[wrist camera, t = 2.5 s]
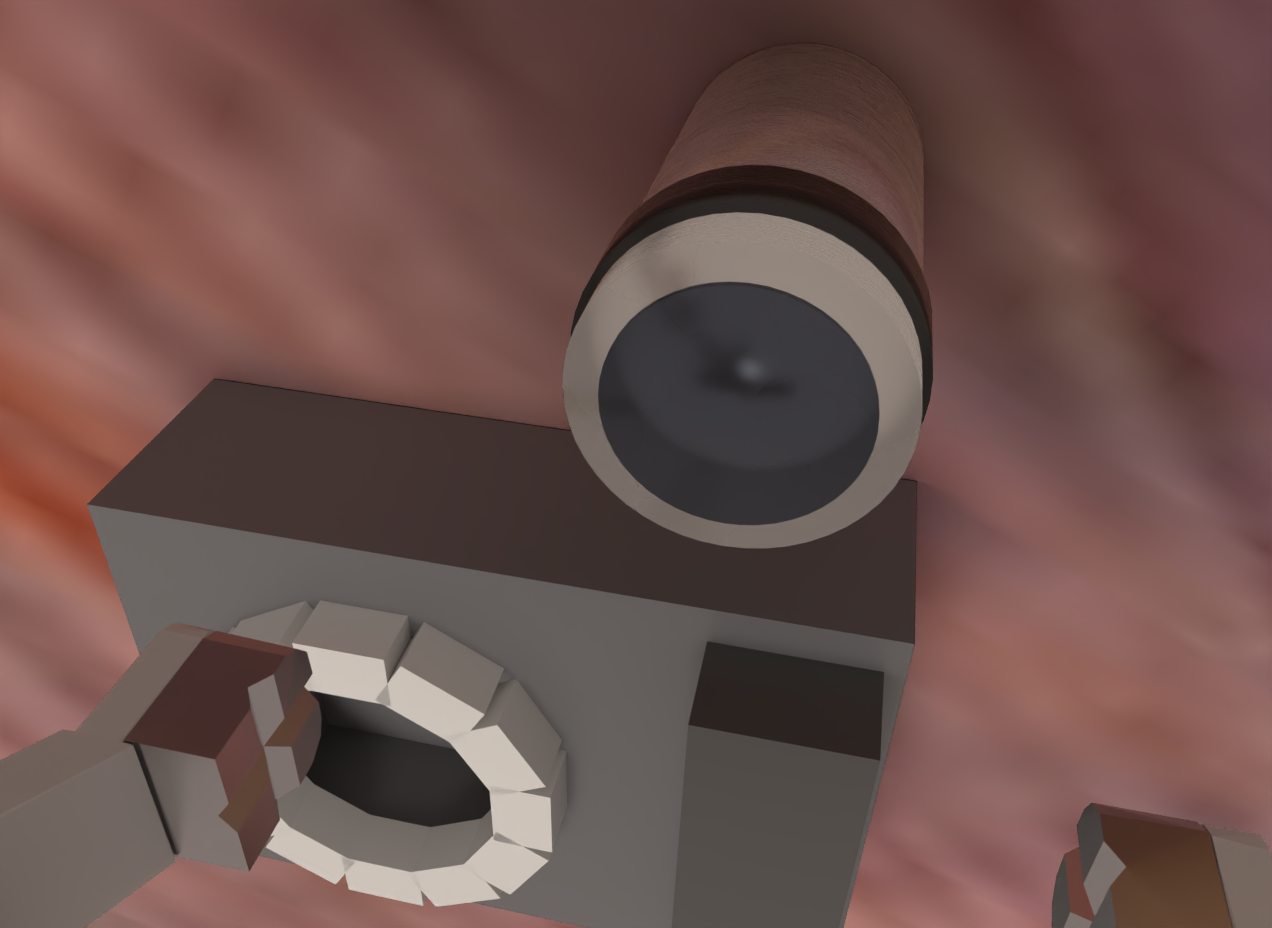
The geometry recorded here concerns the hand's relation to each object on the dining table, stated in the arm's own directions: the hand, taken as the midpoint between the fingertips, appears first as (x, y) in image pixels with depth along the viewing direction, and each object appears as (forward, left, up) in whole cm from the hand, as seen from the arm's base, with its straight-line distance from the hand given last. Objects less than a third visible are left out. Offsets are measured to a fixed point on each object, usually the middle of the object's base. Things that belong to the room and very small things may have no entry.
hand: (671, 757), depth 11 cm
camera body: (+15, -6, -16) cm, 23 cm away
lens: (0, 0, -16) cm, 16 cm away
